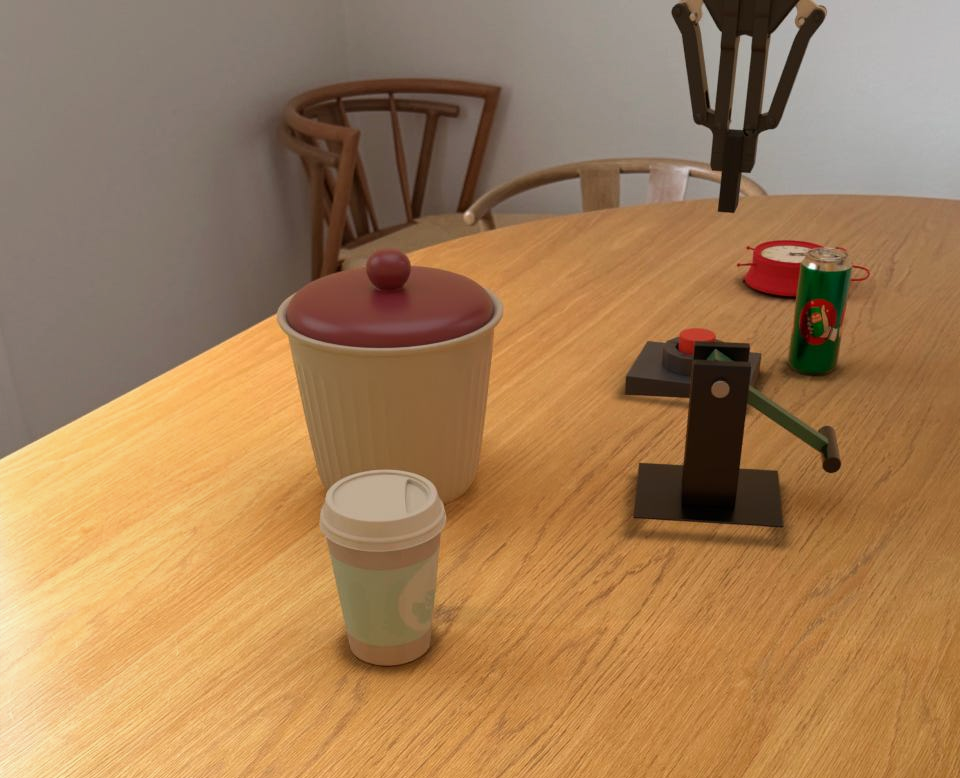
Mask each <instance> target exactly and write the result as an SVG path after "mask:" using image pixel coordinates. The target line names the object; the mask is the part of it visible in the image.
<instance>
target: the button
mask: <svg viewBox="0 0 960 778" xmlns="http://www.w3.org/2000/svg"><path fill="white" fill-rule="evenodd" d="M678 337H679V347H678V350H679V351H680V352H682V353H685V354H690V355H693V351H694V341H710V342H715V340H716V339H717V335H716V333H715V331H712V330H710V329H706V328H700V327H693V328H692V327H691V328H685V329H683V330H680V332H679V335H678Z"/></svg>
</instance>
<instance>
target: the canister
mask: <svg viewBox="0 0 960 778" xmlns="http://www.w3.org/2000/svg"><path fill="white" fill-rule="evenodd" d="M503 317H504V304H503V302H502V300H501V299H500V297H499V296H498V295H497V294H495V292H493V291H492V290H491V289H488V288H487V287H485V286H483V285H481V284H479V283H478V282H477V281H476V280H473V279H472V278H469V277H468V276H465V275H463V274H459V273H456V272H453V271H451V270H445V269H441V268H436V267H429V266H421V265H412V264H411V261H410V258H409V257H408V255H407V254H406V253H404V252H403V251H402V250H399V249H397V248H391V247H385V248H380V249H377V250H375V251H373V253H371V254H370V255H369V256H368V258H367V260H366V262H365V266H363V267H357V268H350V269H347V270H346V269H345V270H342V271H337V272H334V273H330V274H328V275H326V276H325V275H324V276H322V277H320V278H316V279H314V280H313V281H311V282H309V283H307V284H306V285H304V286H302V287H301V288H300V289H299V290H297V291H296V292H295V293H293V294H291V295H289V297H287V298H286V299H285V300H283V301H282V302H281V304H280V305H279V307H278V309H277V311H276V321H277V324H278V326H279V328H280V330H281V331H282V332H283V333H284V334H285V335H286V336H287V338H288V343H289V348H290V353H291V359H292V363H293V369H294V372H295V377H296V382H297V384H298V385H297V386H298V391H299V396H300V400H301V405H302V406H301V407H302V410H303V414H304V415H303V416H304V419H305V424H306V428H307V432H308V436H309V441H310V444H311V445H310V446H311V449H312V454H313V457H314V461H315V465H316V469H317V473H318V476H319V479H320V482H321V483H322V485H323V487H324V489H325V490H326V493H327V492H328V490H329V489H330V487H331V486H332V485H334V484H335V483H336V482H338V481H339V480H341V479H343V478H345V477H348V476H350V475H353V474H357V473H361V472H366V471H372V470H399V471H406V472H410V473H414V474H417V475H420V476H422V477H424V478H426V479H427V480H429V481H430V482H431V483H432V484H433V485H434V486H435V488H436V490H437V493H438V496H439V498H440V500H441V501H442V503H443V505H444V506H445V505H446V504H450V503H451V502H453V501H455V500H457V499H459V498H460V497H461V496H462V495H465V494H466V492H467V491H468V490H470V488H471V486H472V485H473V483H474V481H475V479H476V476H477V472H478V468H479V464H480V459H481V451H482V444H483V437H484V430H485V422H486V414H487V405H488V397H489V396H488V395H489V388H490V387H489V386H490V375H491V367H492V360H493V351H494V350H493V349H494V338H495V329H496V327H498V325H499V324H500V322H501V320H502V319H503Z"/></svg>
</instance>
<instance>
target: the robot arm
mask: <svg viewBox="0 0 960 778" xmlns="http://www.w3.org/2000/svg"><path fill="white" fill-rule="evenodd" d="M703 5H704V6H705V8H706V10H707V12H708V13H709V15H710V17H711V19H712V21H713V22H714V24H715V27H717V29H718V31H719V32H720V33H721V36H720V52H719V62H718V63H719V64H718V73H717V82H716V83H717V84H716V94H715V102H714V109H713V108H711V99H710V91H709V84H708V83H709V82H708V76H707V70H706V69H707V68H706V60H705V55H704V46H703V45H704V44H703V39H702V32H701V27H700V24H699V22H700V21H701V20H702V19H703V15H704V14H703V13H704V12H703ZM794 8H796V16H795V18H794V24H795V26H796V27H797V29H798V31H797V32H796V34H795V36H794V39H793V41H792V43H791V46H790V49H789V51H788V55H787V58H786V61H785V64H784V66H783V68H782V72H781V75H780V78H779V80H778V83H777V86H776V89H775V92H774V95H773V96H772V100H771V103H770V106H769V109H768V111H767V112H764V113H763V112H762V111H763V103H764V95H765V87H766V79H767V78H766V77H767V69H768V60H769V51H770V44H771V38H772V37H771V36H772V34H773V33H774V32H776V31H777V30H778V28H779V27H780V25H782V23H783V22H784V21H785V19H786V18H787V17H788V16H789V14H790V13H791V12H792V11H793V10H794ZM670 13H671V16H672V18H673V21H674V23H675V24H676V26H677V28H678V30H679V32H680V34H681V40H682V41H681V42H682V48H683V54H684V61H685V68H686V76H687V84H688V91H689V98H690V105H691V112H692V119H693V122H694V124H695V125H698V126H703V127H705V128H707V129H709V130H710V131H711V133H712V140H711V152H710V162H709V165H710V169H711V171H712V172H721V176H720V184H719V193H718V206H717V213H728V214H735V213H736V211H737V209H738V206H739V200H740V190H741V184H742V183H741V182H742V174H751V173H752V171H753V169H754V168H755V165H756V160H757V153H758V152H757V151H758V143H759V135H760V134H761V133H763V132H766V131H769V130H775V129H776V128H778V126H779V124H780V123H781V121H782V118H783V116H784V112H785V110H786V107H787V105H788V103H789V99H790V96H791V94H792V92H793V91H792V90H793V88H794V85H795V83H796V80H797V77H798V75H799V72H800V69H801V65H802V63H803V60H804V57H805V55H806V52H807V49H808V47H809V44H810V42H811V41H810V40H811V39H812V37H813V36H814V35H815V33H816V32H817V31H818V30H819V28H820V27H821V26H822V25H823V23H824V21H825V20H826V18H827V16H828V9H827V8H826V6H824V5H822V4H821V5H820V4H819V5H818V4H817V3H815V2H814V1H813V0H679V1H678V2H677V3H675V4H674V5H673V6H672V8H671V12H670ZM742 36H748V37H751V46H750V61H749V70H748V77H747V79H748V80H747V87H746V96H745V97H746V98H745V108H744V117H743V127H742V129H734V128H732V129H731V128H730V125H731V123H732V121H733V120H732V112H733V102H734V95H735V94H734V93H735V84H736V75H737V65H738V56H739V47H740V42H741V37H742Z"/></svg>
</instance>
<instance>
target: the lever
mask: <svg viewBox="0 0 960 778" xmlns="http://www.w3.org/2000/svg"><path fill="white" fill-rule="evenodd" d="M707 360H716V361H733V360H731V359H730V358H728V357H727V356H725V355H724V354H723V353H721V352H720V351H718V350H717V349H715V350H714V351H713V352H712V353H711V355H710V356H709V357H708V358H707ZM747 405H749V406H751V407H752V408H754V409H755V410H757V411H758V412H759V413H761V414H762V415H764V416H766V417H767V418H768V419H770V420H771V421H773V422H774V423H776V424H777V425H779V427H781V428H782V429H784V430H786V431H787V432H789V433H790V434H791V435H793V436H795V437H796V438H798V439H799V440H801V442H803V443H805V444H806V445H808V446H809V447H811V448H812V449H814V450H815V451H816V452H818V453H819V454H820V460H821V465H822V469H823V471H824V472H826V473H828V474H834V473H837V472H839V470H840V469H841V467H842V461H841V456H840V455H841V454H840V450H839V444H838V440H837V435H836V431H835V428H833V427H832V426H830V425H824V426H821V427H820V428H819V429H818V430H817V429H815V428H814V427H812V426H810V425H809V424H807V423H806V422H805V421H803V420H801V419H800V418H798V417H797V416H796V415H795V414H793V413H791V412H790V411H788V410H787V409H785V408H784V407H782V406H781V405H780V404H779V403H777V402H775V401H774V400H772V399H771V398H769V397H768V396H766V395H765V394H763V393H762V392H761V391H759V390H757V389H756V388H755V387H754V388H753V387H752V386H750V385H749V393H748V401H747Z"/></svg>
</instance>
